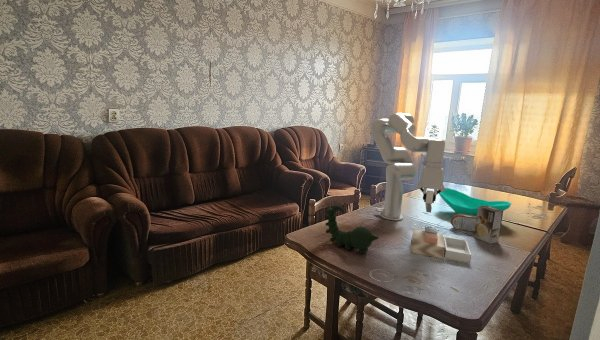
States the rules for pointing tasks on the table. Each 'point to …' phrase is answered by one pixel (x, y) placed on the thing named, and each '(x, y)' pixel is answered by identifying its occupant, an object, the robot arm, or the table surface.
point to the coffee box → (488, 224)
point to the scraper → (429, 200)
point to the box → (457, 250)
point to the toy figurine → (348, 233)
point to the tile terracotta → (431, 238)
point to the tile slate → (430, 231)
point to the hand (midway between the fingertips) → (428, 201)
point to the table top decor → (469, 202)
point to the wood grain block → (427, 245)
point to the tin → (464, 222)
